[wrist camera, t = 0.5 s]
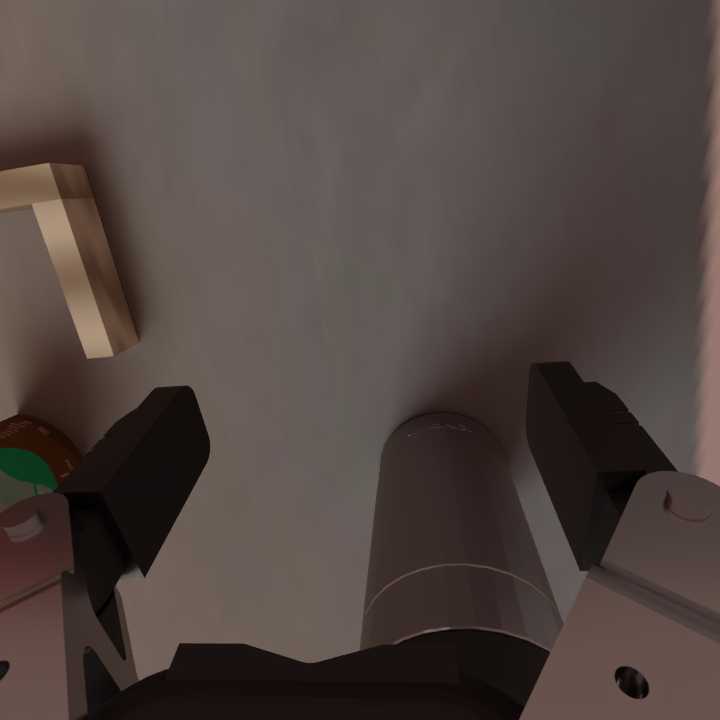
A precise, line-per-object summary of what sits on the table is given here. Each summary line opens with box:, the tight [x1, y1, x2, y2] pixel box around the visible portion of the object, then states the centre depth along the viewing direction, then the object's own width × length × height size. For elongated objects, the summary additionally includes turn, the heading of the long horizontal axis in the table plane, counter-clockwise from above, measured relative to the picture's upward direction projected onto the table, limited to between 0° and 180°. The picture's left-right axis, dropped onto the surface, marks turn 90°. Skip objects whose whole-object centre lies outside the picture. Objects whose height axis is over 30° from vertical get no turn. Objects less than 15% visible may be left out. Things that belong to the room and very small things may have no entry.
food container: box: [0, 415, 83, 513], centre depth 33 cm, size 12×6×10 cm, turn 0°
